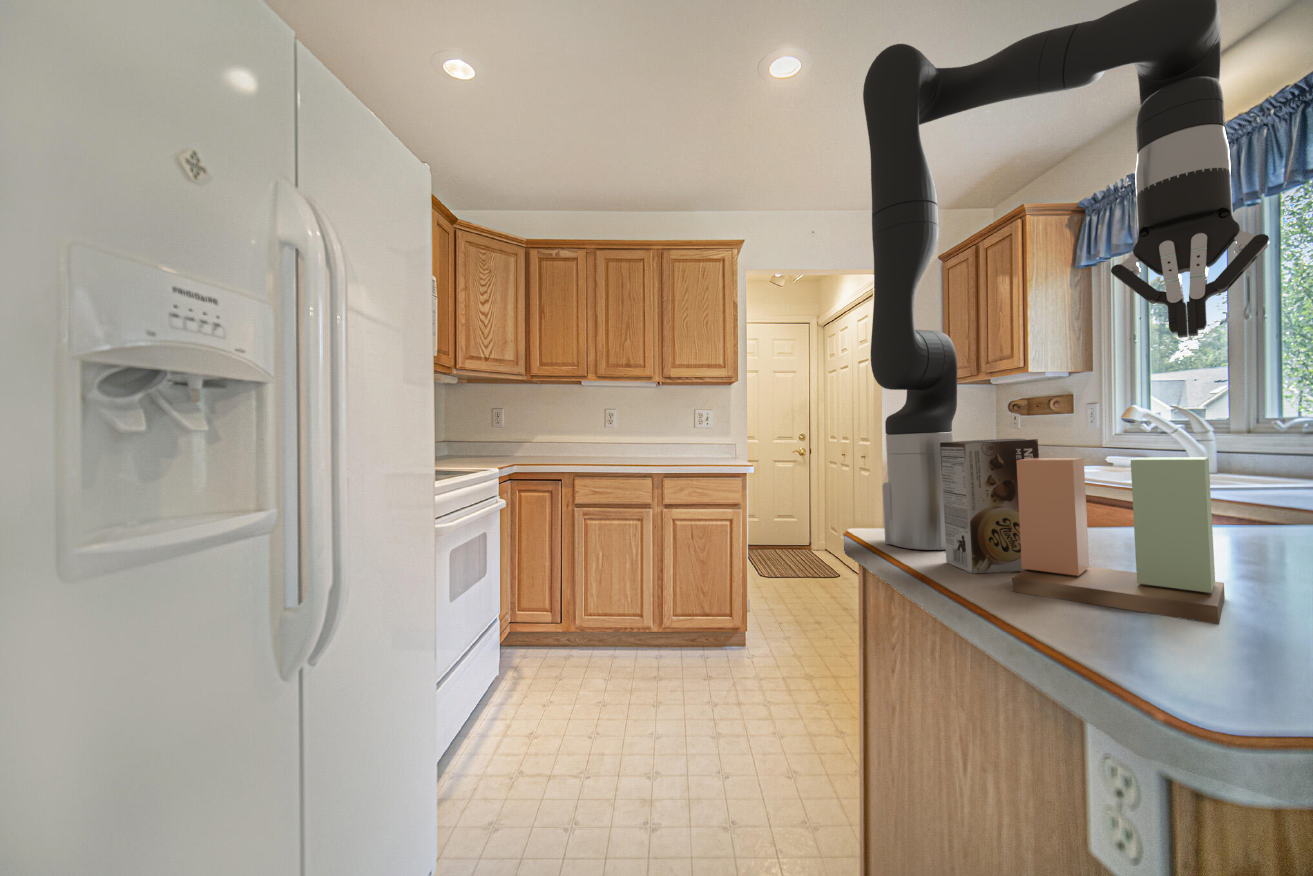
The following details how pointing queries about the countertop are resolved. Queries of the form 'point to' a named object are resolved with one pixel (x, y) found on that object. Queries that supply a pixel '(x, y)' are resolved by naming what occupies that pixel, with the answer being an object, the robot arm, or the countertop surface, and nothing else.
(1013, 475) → the coffee box
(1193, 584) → the pale green block
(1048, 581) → the brown wooden board
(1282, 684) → the countertop surface
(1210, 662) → the countertop surface
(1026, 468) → the peach rectangular block
